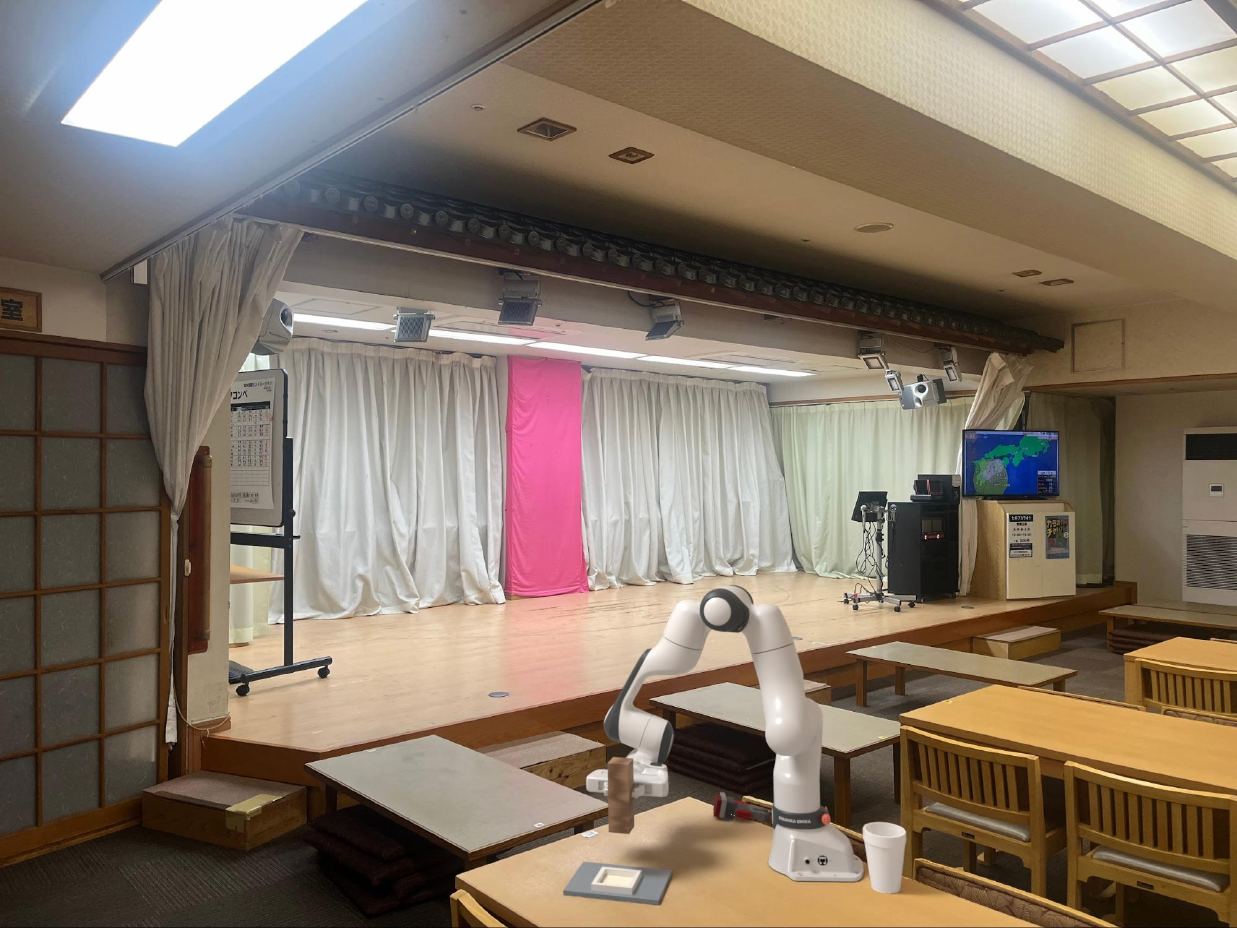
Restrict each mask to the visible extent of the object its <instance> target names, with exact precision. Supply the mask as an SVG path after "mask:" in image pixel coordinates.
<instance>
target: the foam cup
mask: <svg viewBox="0 0 1237 928" xmlns="http://www.w3.org/2000/svg"><path fill="white" fill-rule="evenodd" d="M862 839H863V841H864V847H865V854H866V860H867V867H868V873H869V875H868V876H869V880H870V886H871V889H872V890H874V891H875V892H878V893H882V894H887V893H888V895H889V894H890V895H891V893H893V894H897V893H899V892H900V891H901V886H902V878H903V869H904V868H903V867H904V859H905V851H906V850H905V849H906V848H905V847H906V844H907V831H906V830H905V828H904V827H902V826H900V825H898V824H895V823H890V822H885V821H884V822H883V821H874V822H868V823H866V824H864V825H863V827H862Z"/></svg>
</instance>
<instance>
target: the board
mask: <svg viewBox="0 0 1237 928" xmlns="http://www.w3.org/2000/svg"><path fill="white" fill-rule="evenodd" d="M602 867H612V868H622V869H632V870H641V879H640V881H639V883H638V885H637V886H636V888H635V890H634V892H633V894H632V895H627V894H618V893H608V892H599V891H591V883H592V882H593V880H594V879H595V877H596V876H597V874H598V873H599V871H600V869H601V868H602ZM672 874H673V871H672V869H664V868H655V867H654V868H652V867H643V866H633V865H623V864H613V863H612V864H611V863H602V862H601V863H600V862H592V861H582V863H581V864H580V865H579V867H578V868H577V870H576V872H574V874H573V876H572V877H571V878H570V880H569V881H568V883H567V884H566V886H565V887H564V889H563V891H562V893H563V896H569V895H571V897H578V896H581V898H588V897H591V898H590V899H597V898H601V900H607V901H608V900H610V901H618V902H625V901H630V902H629V903H635V904H644V903H648V904H647V905H653V906H654V905H656V906H659V905H660V903H659V902H661V900H662V897H663V895H664V893H665V891H666V889H667V887H666V886H668V885H669V881H670V880H669V879H671V877H672ZM665 888H666V889H665Z"/></svg>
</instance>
